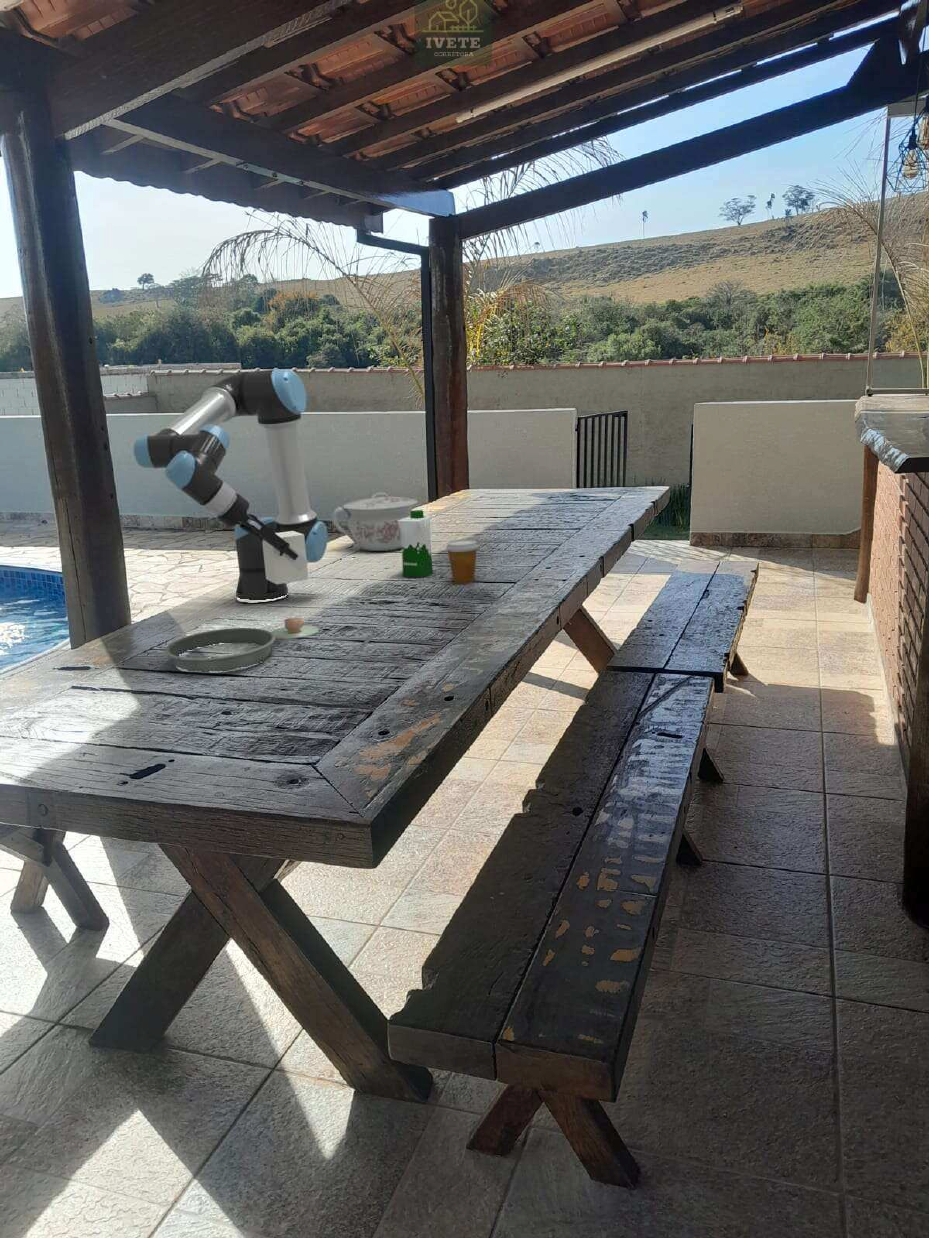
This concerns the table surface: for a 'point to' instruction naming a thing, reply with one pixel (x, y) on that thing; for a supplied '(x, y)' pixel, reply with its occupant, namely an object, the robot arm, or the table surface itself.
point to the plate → (305, 631)
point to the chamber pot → (375, 521)
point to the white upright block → (284, 560)
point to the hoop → (215, 638)
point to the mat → (365, 642)
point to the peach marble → (293, 625)
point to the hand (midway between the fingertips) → (299, 563)
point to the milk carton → (416, 545)
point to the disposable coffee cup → (462, 560)
